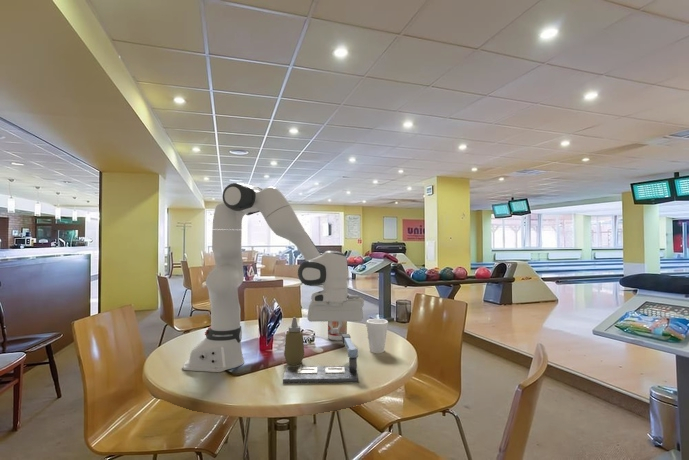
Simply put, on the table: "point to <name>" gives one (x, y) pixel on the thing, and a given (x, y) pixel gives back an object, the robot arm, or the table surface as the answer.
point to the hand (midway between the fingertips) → (335, 333)
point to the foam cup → (377, 334)
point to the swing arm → (349, 346)
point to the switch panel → (322, 374)
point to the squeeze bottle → (294, 344)
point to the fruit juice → (341, 331)
